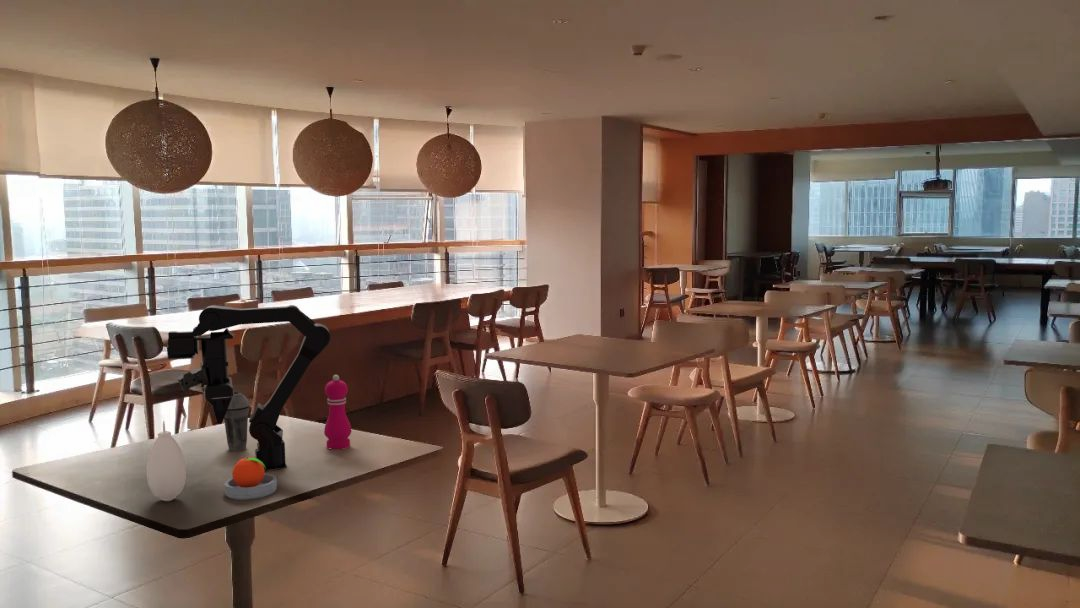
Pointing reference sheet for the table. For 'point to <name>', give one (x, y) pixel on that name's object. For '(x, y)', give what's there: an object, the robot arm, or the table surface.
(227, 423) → the beverage cup
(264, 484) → the saucer
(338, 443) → the pepper mill
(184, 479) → the white tall egg-shaped piece
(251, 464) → the clementine
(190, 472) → the table surface
